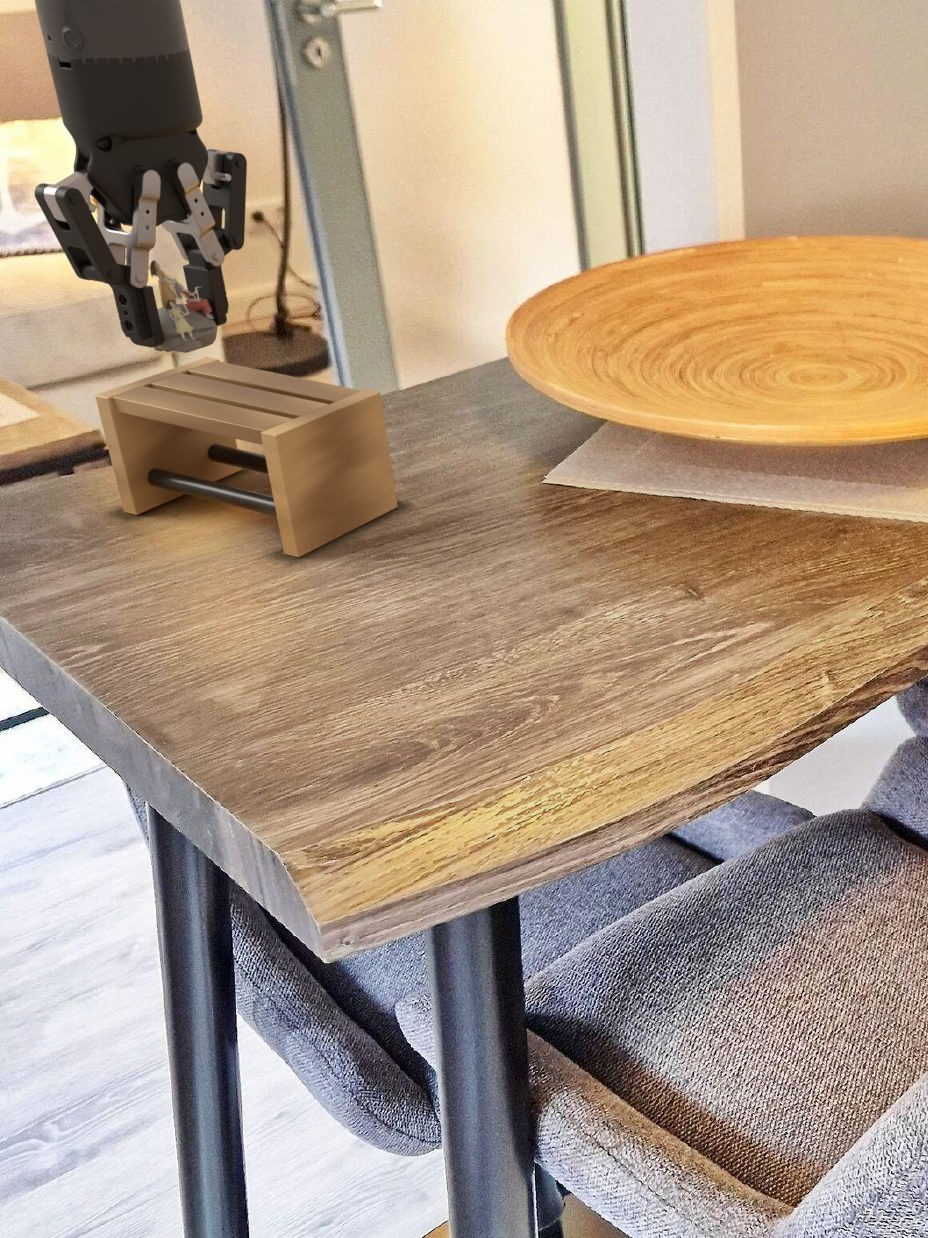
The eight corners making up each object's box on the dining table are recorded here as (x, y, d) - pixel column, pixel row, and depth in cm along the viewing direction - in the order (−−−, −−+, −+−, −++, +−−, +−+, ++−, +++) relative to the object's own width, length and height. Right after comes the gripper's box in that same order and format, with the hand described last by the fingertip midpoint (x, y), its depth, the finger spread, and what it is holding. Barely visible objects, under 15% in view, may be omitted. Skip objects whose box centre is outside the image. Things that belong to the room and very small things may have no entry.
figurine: (137, 348, 96) (116, 254, 93) (209, 337, 98) (190, 245, 95) (158, 370, 92) (137, 273, 89) (233, 358, 95) (214, 263, 92)
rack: (298, 557, 93) (275, 435, 89) (123, 512, 98) (94, 395, 94) (397, 507, 100) (380, 392, 96) (229, 467, 105) (206, 356, 101)
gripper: (169, 27, 93) (223, 299, 102) (-41, 51, 82) (39, 355, 90) (260, 37, 90) (308, 315, 99) (56, 63, 79) (129, 375, 88)
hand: (179, 333), depth 94 cm, fingers closed on figurine, 4 cm apart
